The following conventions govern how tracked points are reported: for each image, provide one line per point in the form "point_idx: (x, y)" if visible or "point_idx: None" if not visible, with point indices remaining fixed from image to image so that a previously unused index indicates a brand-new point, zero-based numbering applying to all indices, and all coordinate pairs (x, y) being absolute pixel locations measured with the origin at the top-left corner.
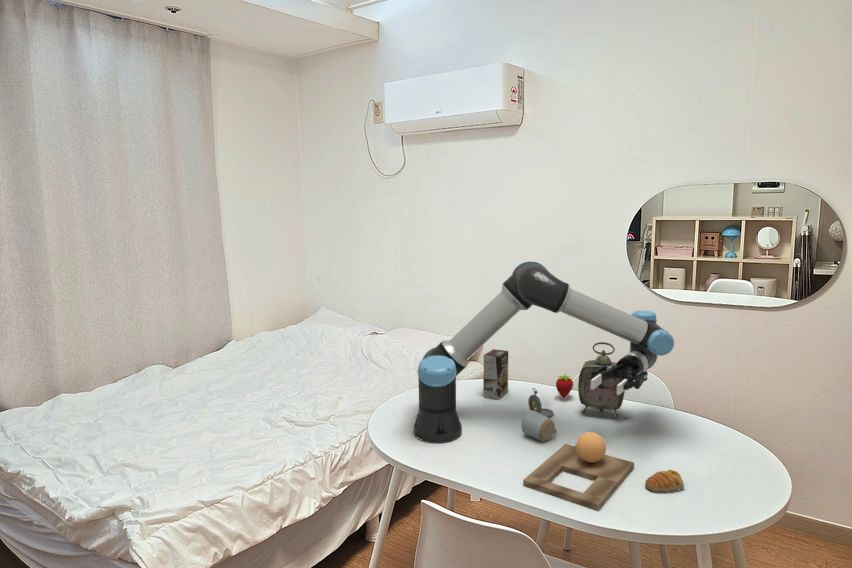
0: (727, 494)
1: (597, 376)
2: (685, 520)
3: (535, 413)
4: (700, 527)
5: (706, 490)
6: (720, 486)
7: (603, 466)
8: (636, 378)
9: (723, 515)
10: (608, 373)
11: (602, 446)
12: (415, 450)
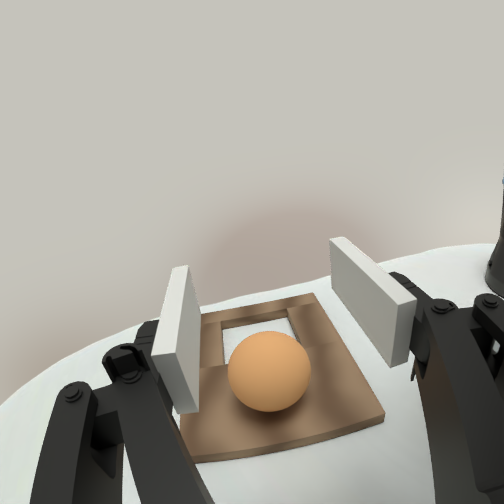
0: (13, 451)
1: (373, 270)
2: (80, 366)
3: (497, 345)
4: (65, 363)
5: (40, 450)
6: (18, 472)
7: (234, 398)
8: (79, 429)
9: (33, 397)
10: (448, 414)
11: (229, 360)
12: (469, 258)
